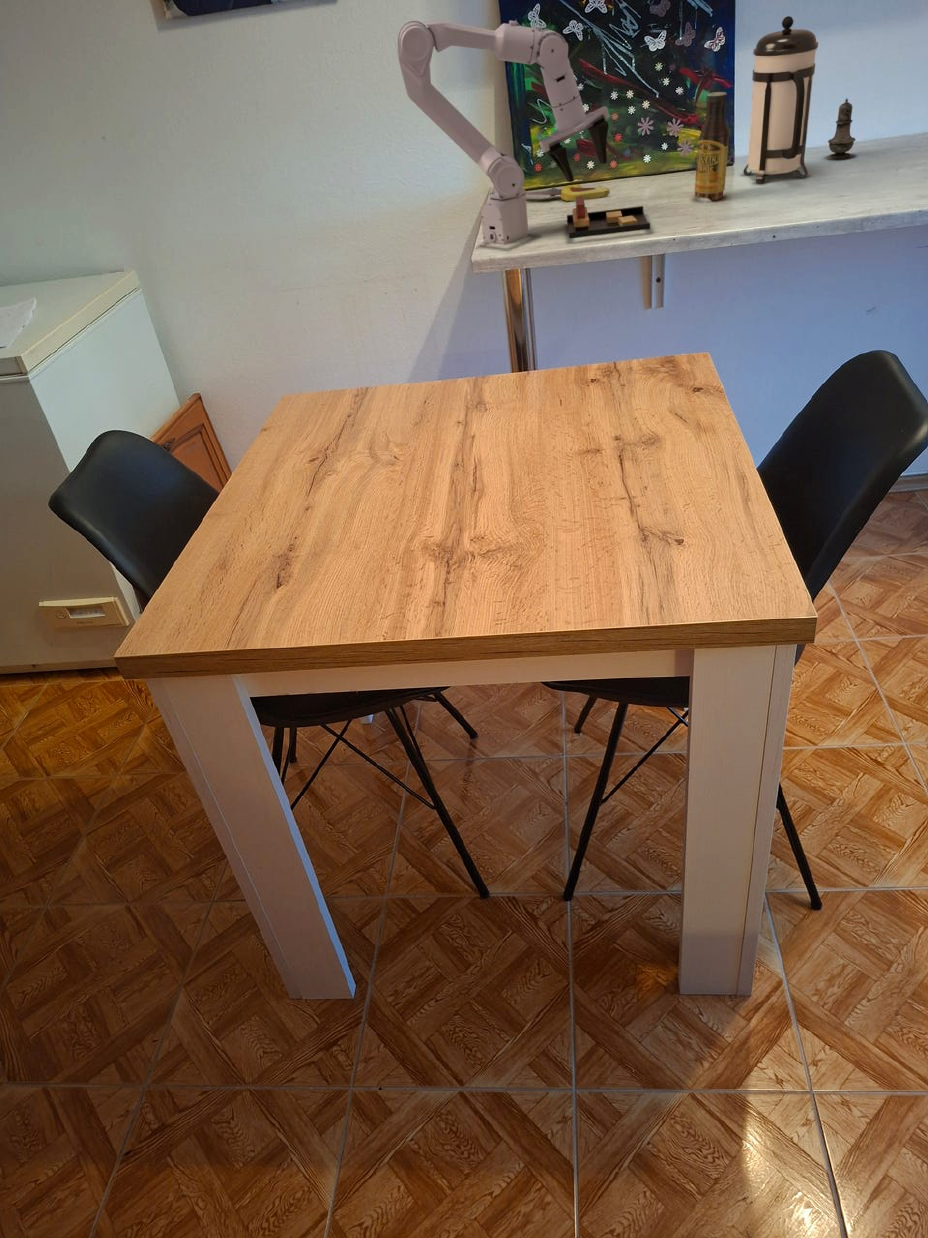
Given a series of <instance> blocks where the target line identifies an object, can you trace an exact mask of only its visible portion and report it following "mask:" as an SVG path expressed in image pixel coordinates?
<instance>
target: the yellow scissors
mask: <svg viewBox="0 0 928 1238" xmlns="http://www.w3.org/2000/svg"><path fill="white" fill-rule="evenodd" d="M610 190H611V189H610V188H609V187H606V186H598V187H582V186H581V185H580V184H570V185H566V186H564V187H563V188H561V189H560V188H559V189H558V188H556V187H552V188H550V189H546V190H542V191H527V192H526V191H525V194H526V198H550V197H555V196H560V198H561V199H562V200H564V201H566V202H567V203H570V202H575V197H578V196H583V198H584V201H588V200H589V201H590V200H595V199H601V198H606V197H608V196H609V195H610Z"/></svg>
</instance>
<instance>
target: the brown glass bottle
mask: <svg viewBox="0 0 928 1238" xmlns="http://www.w3.org/2000/svg"><path fill="white" fill-rule="evenodd" d="M727 100H728V93H727V92H726V91H717V92H716V91H715V92H714V91H713V92H709V93H707V94H706V100H705V103H706V109H705V110H706V113H705V119H704V123H703V126H702V128H701V129H700V133H699V137H698V141H697V150H696V151H697V152H696V165H695V180H694V196H695V197H697V198H701V199H703V198H705V199H707V200H709V201H711V202H714V201H718V200H721V199H722V198H723V197H724V191H725V190H726V175H727V167H728V166H727V165H728V164H727V163H728V154H729V153H728V152H729V135H730V129H729V127H728V124H727V123H726V119H725V117H726V104H727V103H726V102H728V101H727Z"/></svg>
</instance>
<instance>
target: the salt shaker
mask: <svg viewBox="0 0 928 1238" xmlns="http://www.w3.org/2000/svg"><path fill="white" fill-rule="evenodd" d="M844 101H845V102H843V103H841V104H840V105H839V107H838V114H837V120H836V121H835V124H836V129H835V134H834V136H833V137H832V138H830V139H829V140H828V141H827V143H828V147H829V150H830V152H832V153H831V154H830V155H828V156H827V160H831V161H843V160H848V159H851V158H852V157H853V155H852V154H851V153H849V151H850V150H851V149H852V148H853V146H854V144H855V143H854V142H855V141H856V138H855V137H852V136H851V124H852V123H853V119H852V113H853V104H852V103H850V102H849V99H848V97H846V99H845V100H844Z"/></svg>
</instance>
